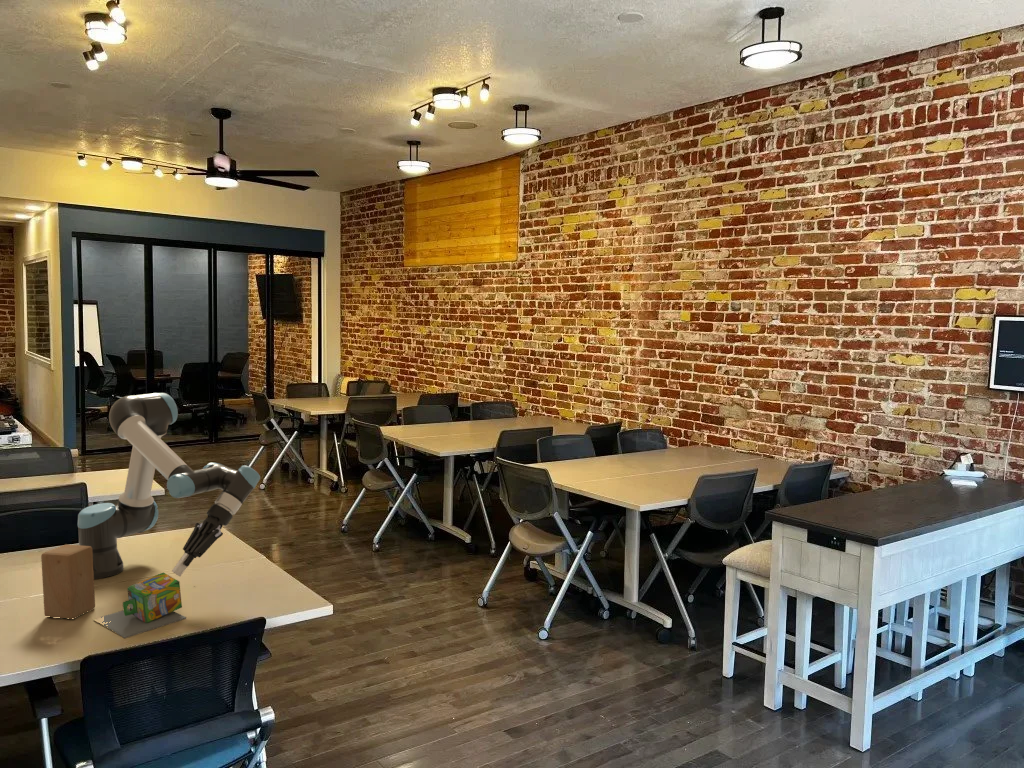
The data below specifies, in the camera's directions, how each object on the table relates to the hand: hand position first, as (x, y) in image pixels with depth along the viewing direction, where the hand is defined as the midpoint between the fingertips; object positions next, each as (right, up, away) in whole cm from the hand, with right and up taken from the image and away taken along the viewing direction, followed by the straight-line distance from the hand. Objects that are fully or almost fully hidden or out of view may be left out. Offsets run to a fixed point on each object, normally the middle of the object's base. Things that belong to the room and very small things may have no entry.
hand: (175, 573), depth 235 cm
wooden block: (-31, -12, -3) cm, 33 cm away
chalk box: (0, -4, -1) cm, 4 cm away
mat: (-7, -12, -7) cm, 16 cm away
